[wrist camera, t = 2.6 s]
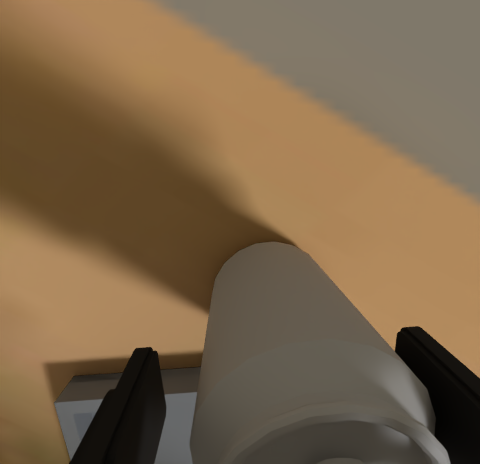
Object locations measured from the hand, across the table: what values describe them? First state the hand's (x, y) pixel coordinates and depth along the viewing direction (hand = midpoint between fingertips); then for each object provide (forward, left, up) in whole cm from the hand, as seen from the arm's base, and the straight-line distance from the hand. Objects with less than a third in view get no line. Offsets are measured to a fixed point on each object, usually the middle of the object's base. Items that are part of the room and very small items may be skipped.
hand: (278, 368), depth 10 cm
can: (-1, +1, -8) cm, 8 cm away
